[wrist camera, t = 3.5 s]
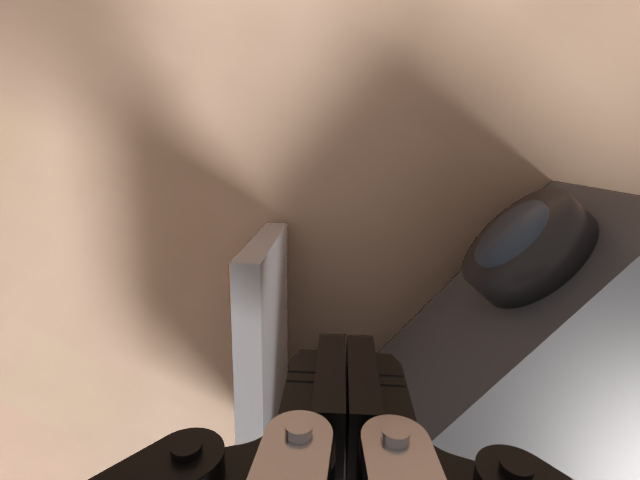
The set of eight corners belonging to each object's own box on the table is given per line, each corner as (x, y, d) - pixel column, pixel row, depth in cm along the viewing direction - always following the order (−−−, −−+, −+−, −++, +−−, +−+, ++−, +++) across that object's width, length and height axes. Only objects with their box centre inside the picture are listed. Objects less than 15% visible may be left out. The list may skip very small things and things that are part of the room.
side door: (289, 439, 23) (268, 566, 16) (258, 438, 23) (224, 563, 16) (289, 223, 20) (263, 263, 13) (254, 222, 20) (210, 262, 13)
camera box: (458, 549, 24) (523, 770, 16) (280, 410, 23) (244, 571, 14) (718, 339, 21) (987, 479, 12) (527, 157, 19) (681, 168, 10)
